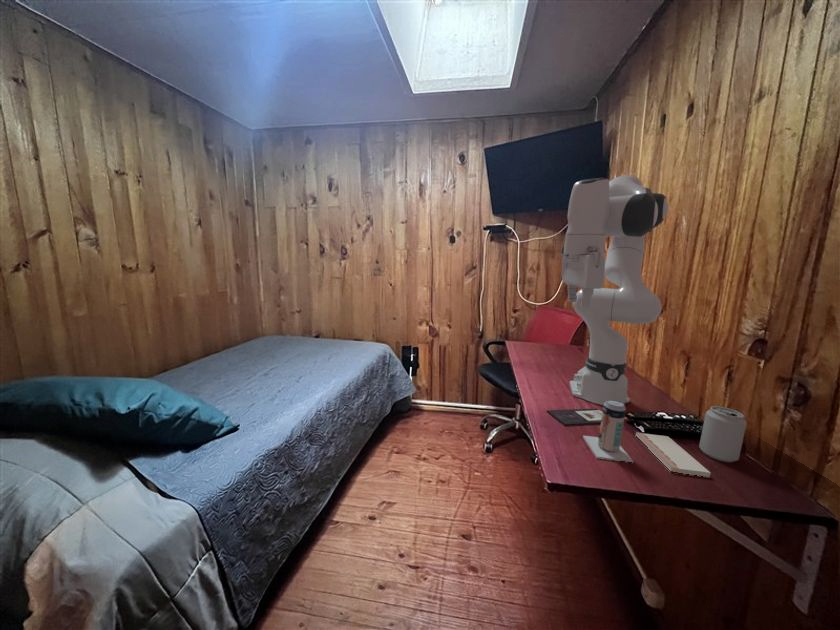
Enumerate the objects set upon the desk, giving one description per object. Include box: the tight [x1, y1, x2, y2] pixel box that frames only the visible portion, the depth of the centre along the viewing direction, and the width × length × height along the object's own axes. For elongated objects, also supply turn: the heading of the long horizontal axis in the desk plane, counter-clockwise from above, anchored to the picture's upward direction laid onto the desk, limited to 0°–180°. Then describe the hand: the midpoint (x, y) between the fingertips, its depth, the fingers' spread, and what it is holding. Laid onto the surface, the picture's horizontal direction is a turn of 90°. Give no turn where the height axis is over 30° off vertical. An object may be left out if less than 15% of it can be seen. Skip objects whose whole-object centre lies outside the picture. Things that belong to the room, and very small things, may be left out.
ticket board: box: [635, 431, 711, 478], centre depth 81 cm, size 16×8×1 cm, turn 171°
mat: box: [582, 435, 634, 464], centre depth 83 cm, size 10×8×1 cm
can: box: [698, 405, 747, 463], centre depth 82 cm, size 8×8×12 cm
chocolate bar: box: [546, 408, 603, 427], centre depth 100 cm, size 9×1×18 cm
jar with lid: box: [598, 400, 627, 452], centre depth 81 cm, size 5×5×12 cm
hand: (577, 303), depth 82 cm, fingers open, 8 cm apart
